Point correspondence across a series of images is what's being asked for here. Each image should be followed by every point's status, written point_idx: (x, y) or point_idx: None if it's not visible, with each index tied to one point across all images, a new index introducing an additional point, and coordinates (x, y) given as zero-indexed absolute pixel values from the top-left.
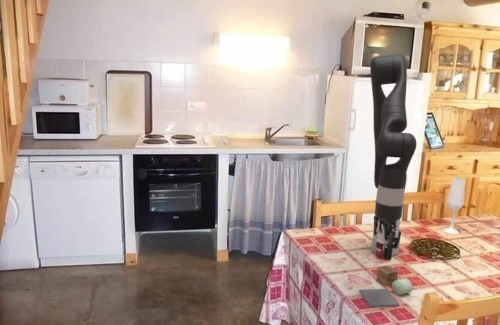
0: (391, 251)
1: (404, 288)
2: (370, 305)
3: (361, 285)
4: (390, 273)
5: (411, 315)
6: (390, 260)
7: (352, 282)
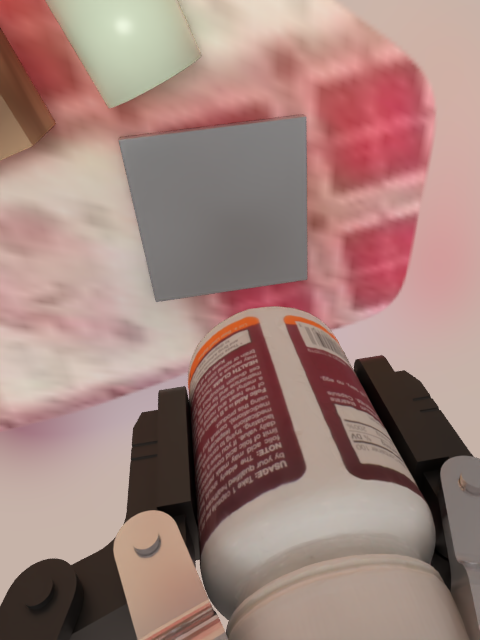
0: (457, 442)
1: (190, 38)
2: (306, 278)
3: (85, 273)
4: (10, 108)
5: (399, 71)
6: (324, 325)
7: (61, 312)
